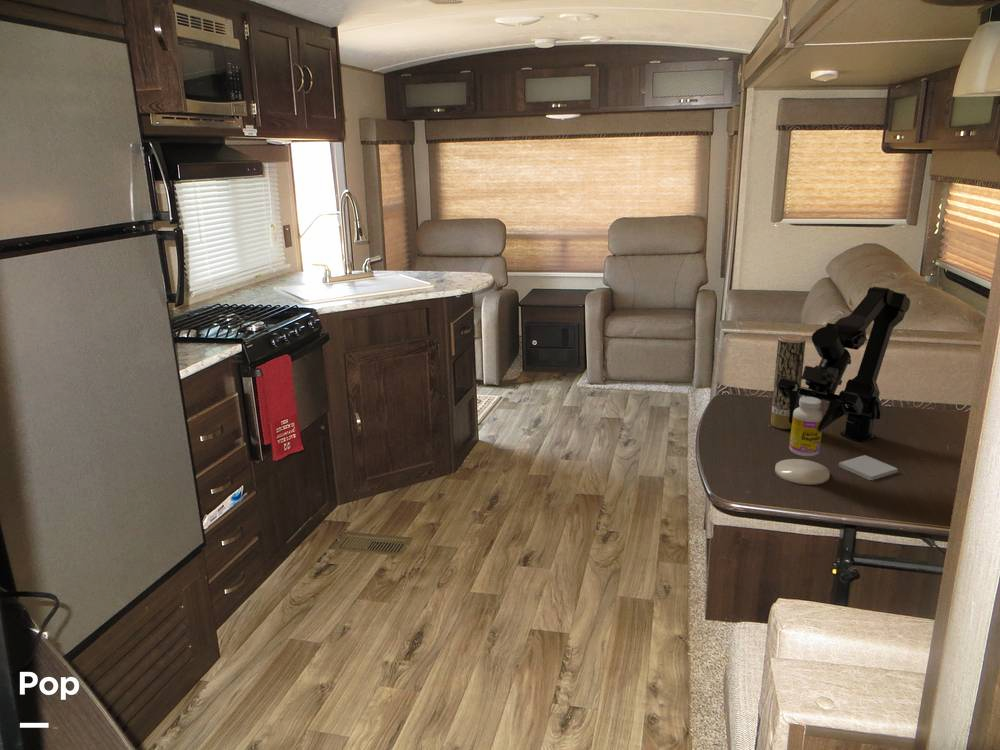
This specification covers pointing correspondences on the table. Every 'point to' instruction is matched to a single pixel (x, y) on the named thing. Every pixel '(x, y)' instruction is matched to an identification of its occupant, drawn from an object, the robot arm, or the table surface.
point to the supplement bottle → (806, 427)
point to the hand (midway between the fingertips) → (804, 426)
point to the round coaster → (802, 471)
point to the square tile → (868, 467)
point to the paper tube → (786, 375)
